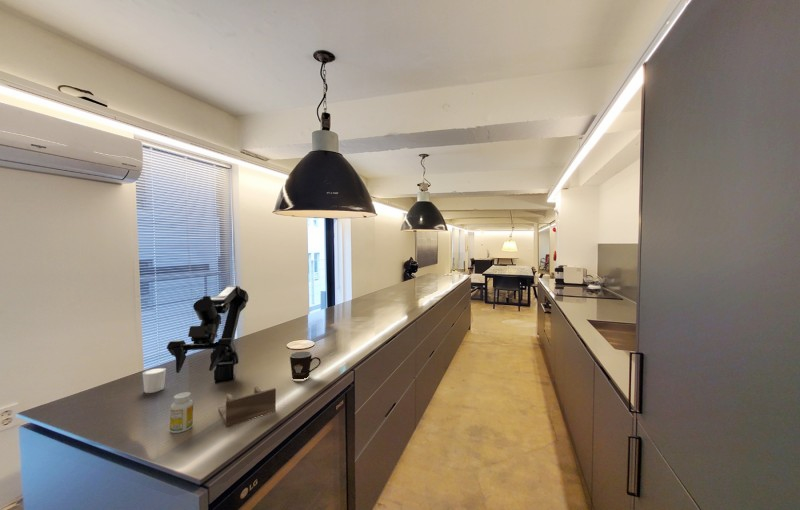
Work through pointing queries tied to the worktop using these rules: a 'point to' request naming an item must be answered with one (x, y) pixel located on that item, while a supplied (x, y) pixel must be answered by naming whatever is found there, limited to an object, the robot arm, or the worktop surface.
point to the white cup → (154, 380)
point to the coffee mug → (301, 364)
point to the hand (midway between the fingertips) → (193, 371)
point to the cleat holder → (248, 406)
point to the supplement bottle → (181, 413)
